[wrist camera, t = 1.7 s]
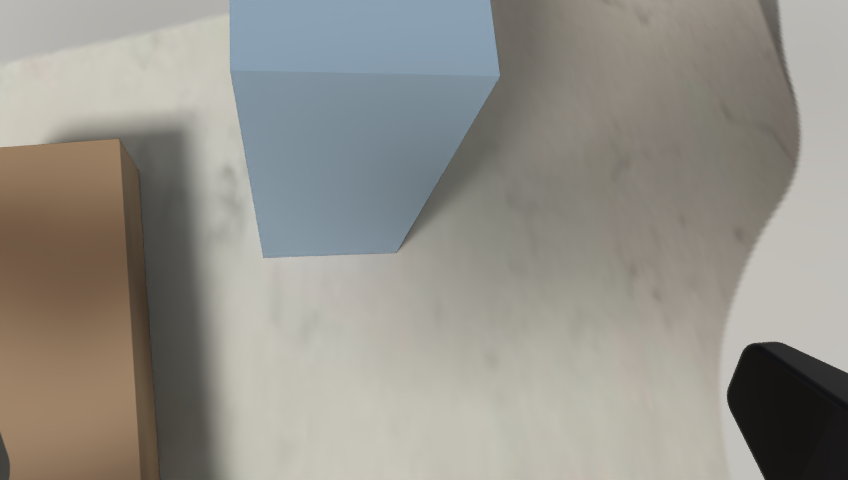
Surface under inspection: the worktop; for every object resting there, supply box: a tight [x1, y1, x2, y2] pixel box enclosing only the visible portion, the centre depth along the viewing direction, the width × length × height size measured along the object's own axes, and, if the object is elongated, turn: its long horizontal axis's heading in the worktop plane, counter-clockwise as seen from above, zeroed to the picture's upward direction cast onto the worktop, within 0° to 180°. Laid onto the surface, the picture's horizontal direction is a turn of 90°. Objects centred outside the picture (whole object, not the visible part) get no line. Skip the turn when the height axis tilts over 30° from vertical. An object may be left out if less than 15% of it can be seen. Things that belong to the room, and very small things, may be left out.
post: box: [230, 0, 500, 258], centre depth 17 cm, size 4×4×12 cm
